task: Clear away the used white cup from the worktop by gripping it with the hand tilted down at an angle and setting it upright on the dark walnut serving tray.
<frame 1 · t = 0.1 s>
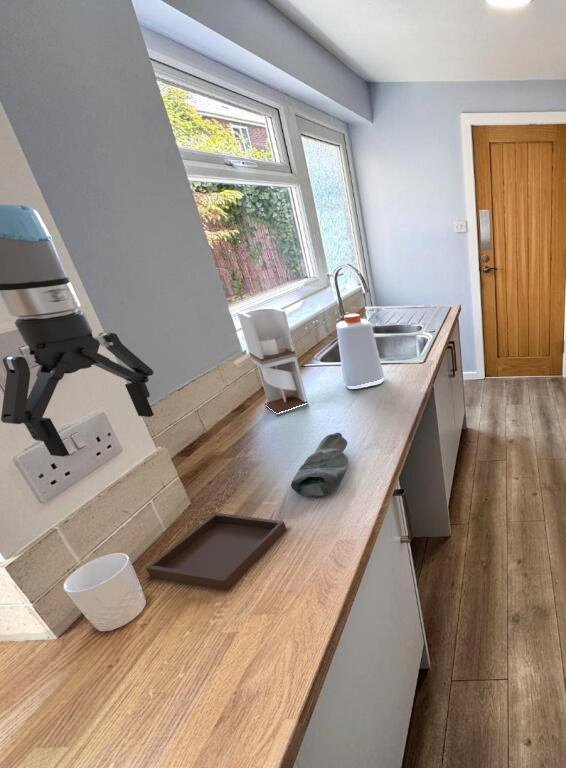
hand: (107, 433, 71), 29 cm above the table, tool pointing down, fingers open, 13 cm apart
serving tray: (223, 552, 83), on the table
plastic bottle: (364, 382, 166), on the table
white tiered shelf stand: (287, 407, 146), on the table
grey hollow crumpled part: (329, 471, 108), on the table
white cup: (122, 614, 70), on the table
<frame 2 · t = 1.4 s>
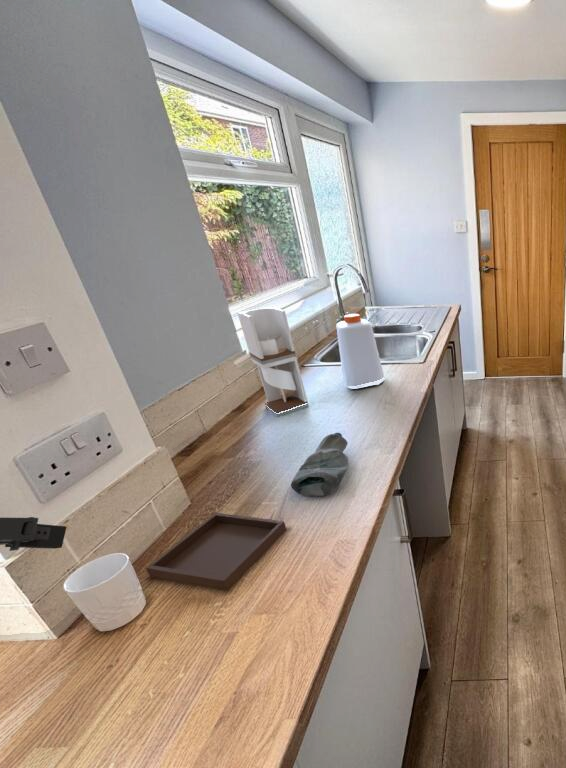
hand: (0, 546, 53), 24 cm above the table, tool tilted 45°, fingers open, 13 cm apart
nothing on the table moved.
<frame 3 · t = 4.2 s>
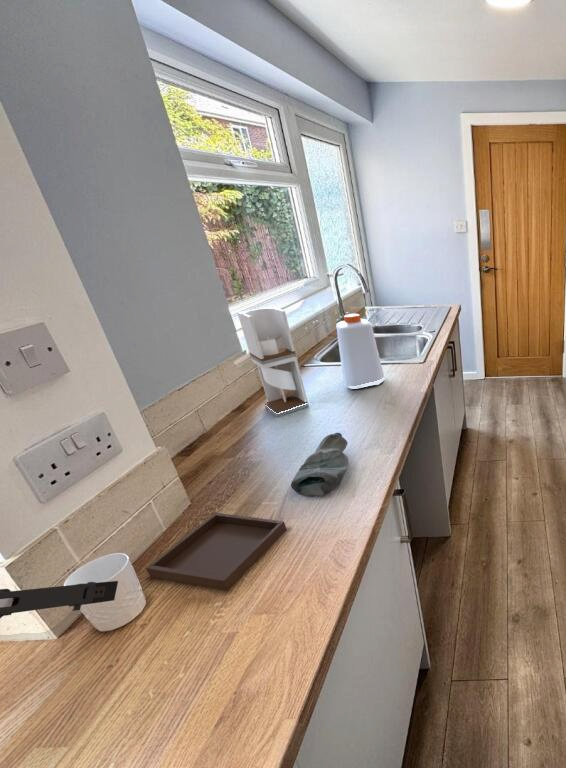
hand: (63, 597, 61), 11 cm above the table, tool tilted 45°, fingers open, 13 cm apart
nothing on the table moved.
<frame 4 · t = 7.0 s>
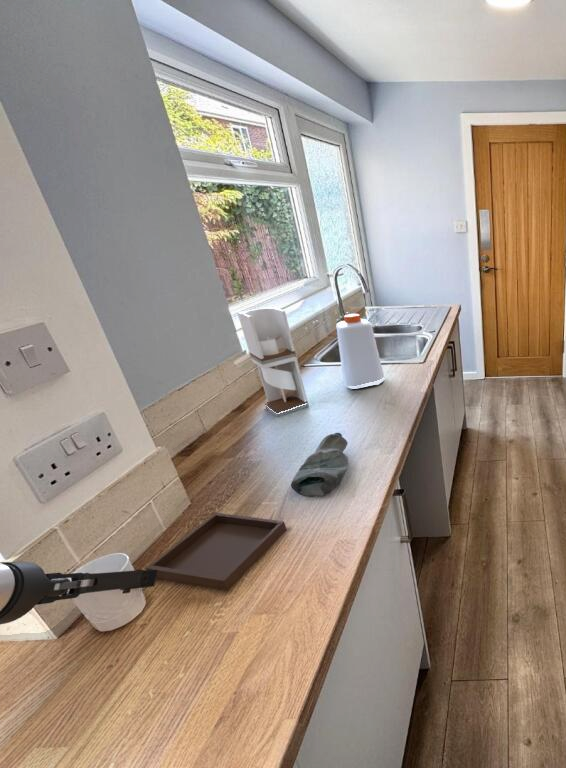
hand: (126, 581, 72), 4 cm above the table, tool tilted 45°, fingers closed on white cup, 8 cm apart
white cup: (122, 614, 70), on the table, touching gripper
everything else where it was.
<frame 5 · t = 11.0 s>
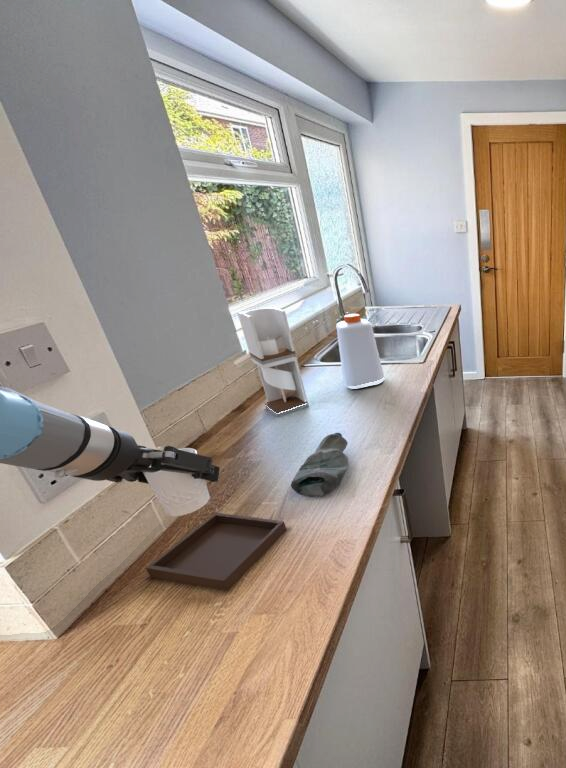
hand: (192, 477, 77), 18 cm above the table, tool tilted 45°, fingers closed on white cup, 8 cm apart
white cup: (189, 505, 76), point 14 cm above the table, touching gripper
everything else where it was.
when the fingers open (4 cm above the table, at t = 15.1 s): white cup stays where it is, resting on serving tray.
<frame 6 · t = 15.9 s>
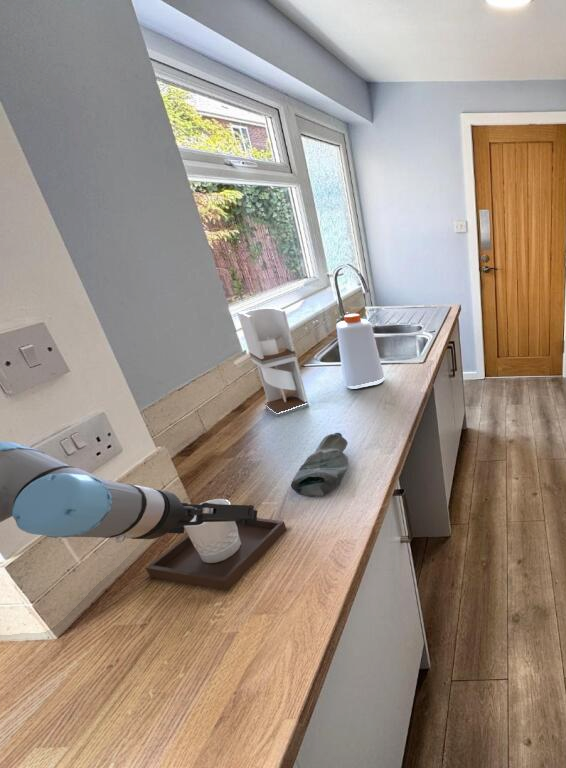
hand: (219, 521, 82), 6 cm above the table, tool tilted 45°, fingers open, 13 cm apart
white cup: (222, 551, 82), resting on serving tray
everything else where it was.
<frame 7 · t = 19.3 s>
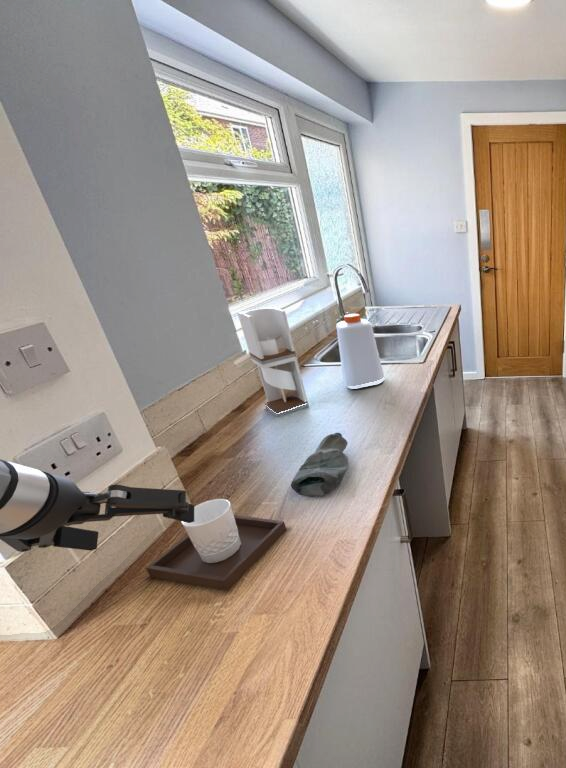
hand: (144, 527, 65), 17 cm above the table, tool tilted 40°, fingers open, 13 cm apart
nothing on the table moved.
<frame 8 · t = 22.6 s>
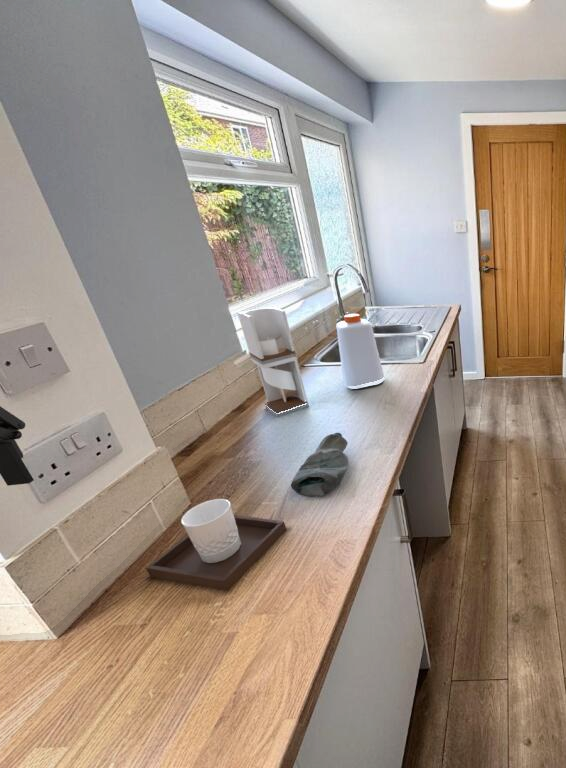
nothing on the table moved.
at the end: white cup inside the target area in the serving tray (0.1 cm from its centre), point 0.3 cm above the serving tray's base; white cup tilted 0°; the gripper is holding nothing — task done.
